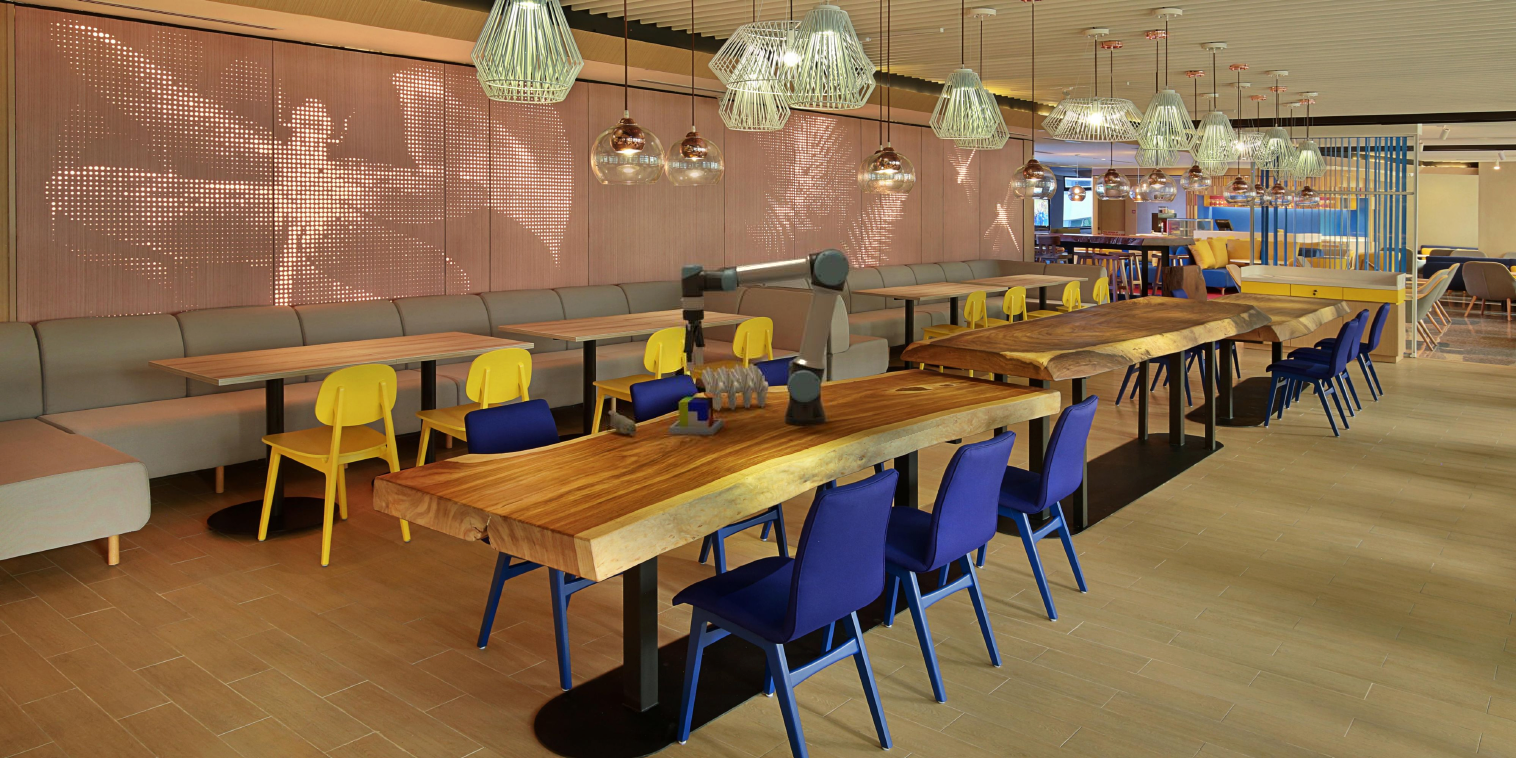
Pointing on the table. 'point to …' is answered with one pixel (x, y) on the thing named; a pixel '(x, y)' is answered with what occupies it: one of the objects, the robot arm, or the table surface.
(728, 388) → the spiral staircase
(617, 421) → the decorative bird
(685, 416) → the puzzle toy
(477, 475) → the table surface
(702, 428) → the tray
